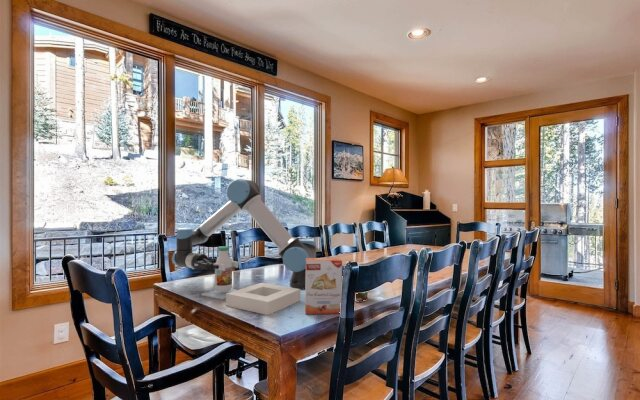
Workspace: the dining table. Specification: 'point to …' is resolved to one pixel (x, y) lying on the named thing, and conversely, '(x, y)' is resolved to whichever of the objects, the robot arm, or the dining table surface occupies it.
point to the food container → (361, 296)
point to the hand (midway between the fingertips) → (231, 266)
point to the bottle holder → (263, 298)
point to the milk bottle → (223, 277)
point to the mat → (217, 294)
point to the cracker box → (323, 285)
